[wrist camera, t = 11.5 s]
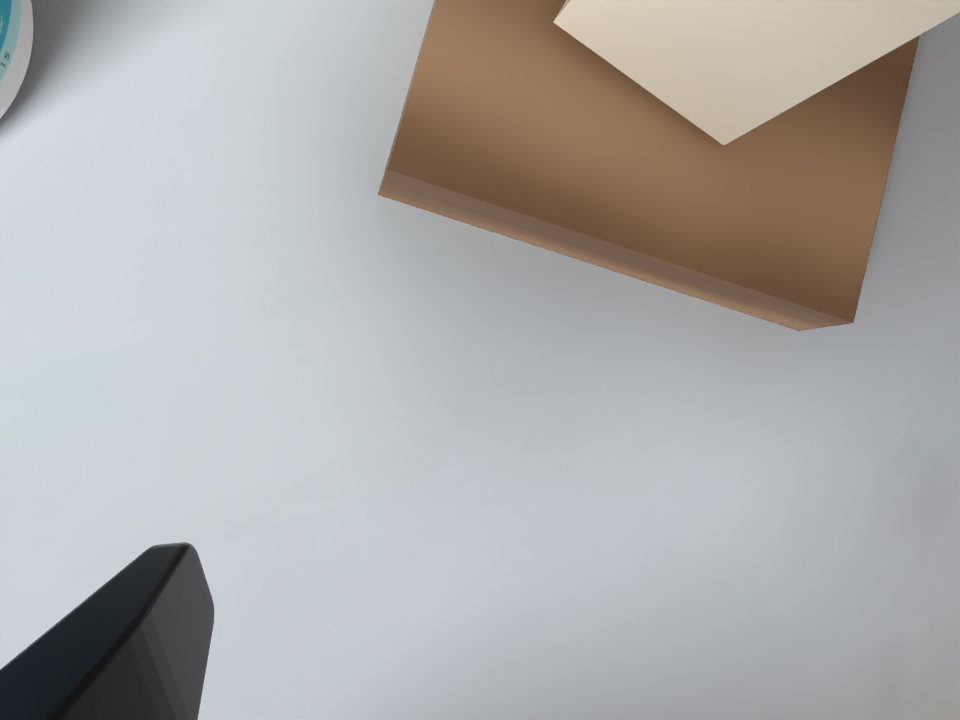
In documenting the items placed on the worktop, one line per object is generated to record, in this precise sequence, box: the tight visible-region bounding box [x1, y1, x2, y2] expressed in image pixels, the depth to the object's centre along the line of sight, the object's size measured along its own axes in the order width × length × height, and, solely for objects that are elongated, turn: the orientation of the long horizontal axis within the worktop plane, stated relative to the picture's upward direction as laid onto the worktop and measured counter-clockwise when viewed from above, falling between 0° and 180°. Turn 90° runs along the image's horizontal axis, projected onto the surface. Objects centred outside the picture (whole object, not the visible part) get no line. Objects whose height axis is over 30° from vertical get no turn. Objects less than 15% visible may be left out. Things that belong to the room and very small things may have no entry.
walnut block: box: [378, 0, 919, 331], centre depth 23 cm, size 12×12×3 cm
